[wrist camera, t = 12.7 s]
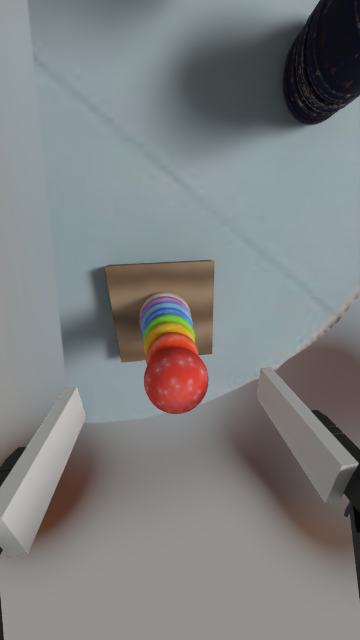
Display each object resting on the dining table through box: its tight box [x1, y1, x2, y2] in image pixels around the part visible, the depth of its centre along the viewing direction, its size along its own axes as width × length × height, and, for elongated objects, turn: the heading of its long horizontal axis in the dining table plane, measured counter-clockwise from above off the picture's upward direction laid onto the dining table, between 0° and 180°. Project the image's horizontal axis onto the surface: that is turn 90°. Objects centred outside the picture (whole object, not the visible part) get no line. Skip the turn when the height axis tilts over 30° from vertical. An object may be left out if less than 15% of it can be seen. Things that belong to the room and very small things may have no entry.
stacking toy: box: [139, 292, 208, 414], centre depth 21 cm, size 8×8×19 cm
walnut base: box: [105, 260, 214, 362], centre depth 32 cm, size 16×16×3 cm
